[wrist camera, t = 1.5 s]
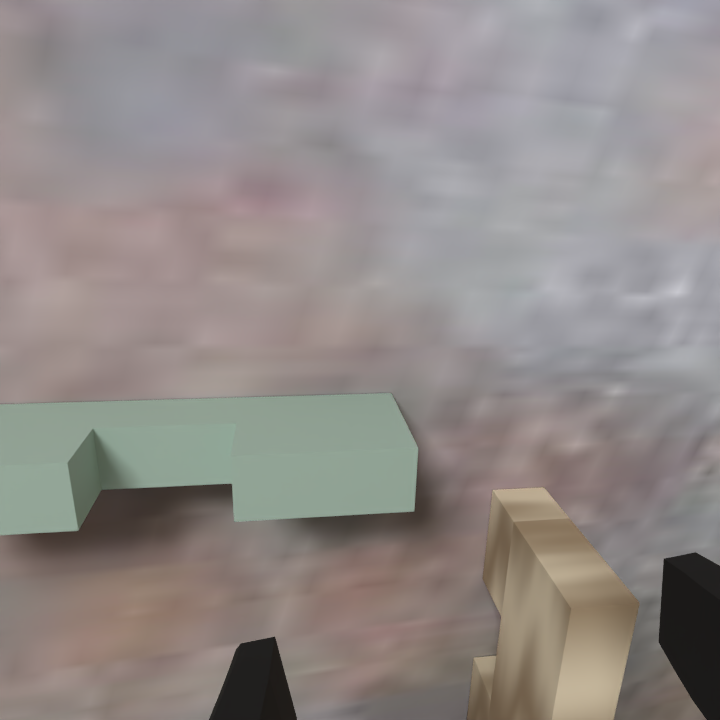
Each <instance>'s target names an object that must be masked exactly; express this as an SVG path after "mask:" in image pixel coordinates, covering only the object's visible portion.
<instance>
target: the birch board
mask: <svg viewBox="0 0 720 720" xmlns="http://www.w3.org/2000/svg"><path fill="white" fill-rule="evenodd" d="M483 580H484V582H485V584H486V586H487V588H488V590H489V592H490V595H491V597H492V599H493V601H494V603H495V605H496V607H497V609H498V611H499V613H500V615H501V624H500V632H499V639H498V647H497V655H496V656H486V657H475V658H474V660H473V669H472V678H471V687H470V696H469V705H468V714H467V720H614V715H615V711H616V706H617V702H618V697H619V693H620V689H621V684H622V680H623V675H624V671H625V666H626V662H627V657H628V653H629V648H630V644H631V640H632V635H633V631H634V626H635V622H636V617H637V613H638V608H639V604H640V603H639V602H638V600H637V599H636V598H635V597H634V596H633V594H632V593H631V592H630V591H629V590H628V588H627V587H626V586H625V585H624V584H623V582H622V581H621V580H620V579H619V578H618V576H617V575H616V574H615V573H614V572H613V570H612V569H611V568H610V567H609V566H608V564H607V563H606V562H605V561H604V559H603V558H602V557H601V556H600V555H599V553H598V552H597V551H596V550H595V549H594V547H593V546H592V545H591V544H590V543H589V541H588V540H587V539H586V538H585V537H584V535H583V534H582V533H581V532H580V531H579V529H578V528H577V527H576V526H575V525H574V523H573V522H572V521H571V520H570V519H569V517H568V516H567V515H566V514H565V512H564V511H563V510H562V509H561V508H560V506H559V505H558V504H557V503H556V502H555V500H554V499H553V498H552V497H551V496H550V494H549V493H548V492H547V491H546V490H545V488H544V487H540V488H521V489H502V490H493V491H492V500H491V509H490V518H489V527H488V536H487V545H486V553H485V562H484V571H483Z"/></svg>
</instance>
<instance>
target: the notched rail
mask: <svg viewBox="0 0 720 720" xmlns="http://www.w3.org/2000/svg"><path fill="white" fill-rule="evenodd" d="M417 461H418V446H417V444H416V442H415V440H414V438H413V436H412V434H411V432H410V430H409V428H408V426H407V424H406V422H405V420H404V418H403V416H402V414H401V412H400V410H399V408H398V406H397V404H396V402H395V400H394V398H393V396H392V394H391V393H380V394H345V395H310V396H276V397H241V398H206V399H171V400H136V401H101V402H66V403H31V404H0V535H13V534H30V533H48V532H65V531H78V530H79V529H80V527H81V525H82V523H83V522H84V520H85V518H86V516H87V515H88V513H89V511H90V509H91V508H92V506H93V504H94V502H95V500H96V499H97V497H98V495H99V493H100V492H101V490H109V489H129V488H150V487H170V486H191V485H212V484H232V492H233V510H234V522H239V521H257V520H274V519H292V518H309V517H327V516H344V515H361V514H379V513H396V512H414V509H415V493H416V477H417Z"/></svg>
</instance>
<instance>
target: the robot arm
mask: <svg viewBox="0 0 720 720" xmlns="http://www.w3.org/2000/svg"><path fill="white" fill-rule="evenodd" d="M659 643H660V645H661V647H662V649H663V650H664V652H665V654H666V656H667V657H668V659H669V661H670V663H671V665H672V666H673V668H674V670H675V672H676V673H677V675H678V677H679V678H680V680H681V682H682V683H683V685H684V687H685V688H686V690H687V692H688V693H689V695H690V697H691V698H692V700H693V701H694V703H695V704H696V705H697V707H698V708H699V710H700V711H701V712H702V714H703V715H704V717H705V718H706V719H707V720H720V566H719V565H717V564H715V563H714V562H712V561H710V560H708V559H707V558H705V557H703V556H701V555H699V554H698V553H691V554H686V555H681V556H676V557H671V558H666V559H664V565H663V581H662V597H661V613H660V629H659ZM209 720H297V717H296V713H295V709H294V706H293V702H292V698H291V695H290V691H289V687H288V683H287V680H286V676H285V672H284V669H283V665H282V661H281V657H280V654H279V650H278V646H277V643H276V639H275V637H271V638H266V639H261V640H256V641H251V642H246V643H241V644H240V645H239V647H238V648H237V649H236V651H235V654H234V657H233V660H232V663H231V665H230V668H229V671H228V673H227V676H226V679H225V681H224V684H223V687H222V689H221V692H220V694H219V697H218V699H217V702H216V704H215V706H214V709H213V711H212V714H211V716H210V719H209Z"/></svg>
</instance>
